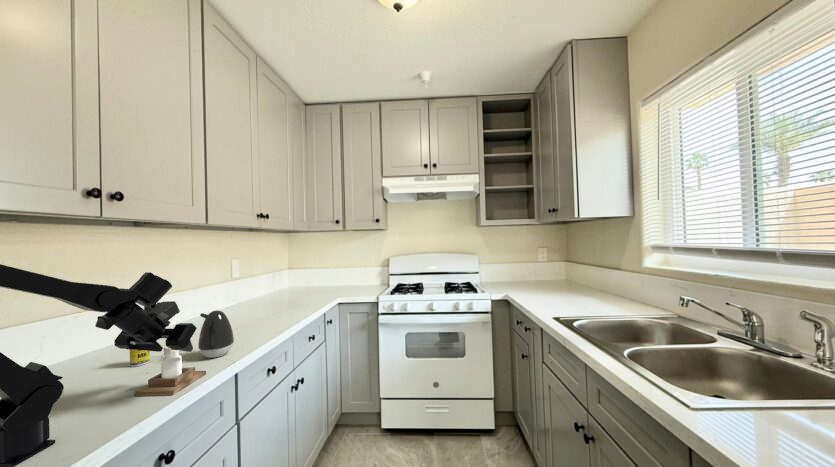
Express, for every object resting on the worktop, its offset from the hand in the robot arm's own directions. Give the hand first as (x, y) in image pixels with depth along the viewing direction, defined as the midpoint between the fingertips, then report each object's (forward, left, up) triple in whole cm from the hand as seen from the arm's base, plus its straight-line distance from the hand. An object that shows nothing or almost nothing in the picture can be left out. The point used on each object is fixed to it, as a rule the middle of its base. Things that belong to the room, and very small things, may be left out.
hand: (176, 350), depth 86 cm
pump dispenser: (+20, +2, -9) cm, 22 cm away
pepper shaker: (-2, 0, -8) cm, 8 cm away
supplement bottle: (+14, +23, -9) cm, 28 cm away
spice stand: (-1, 0, -9) cm, 9 cm away
